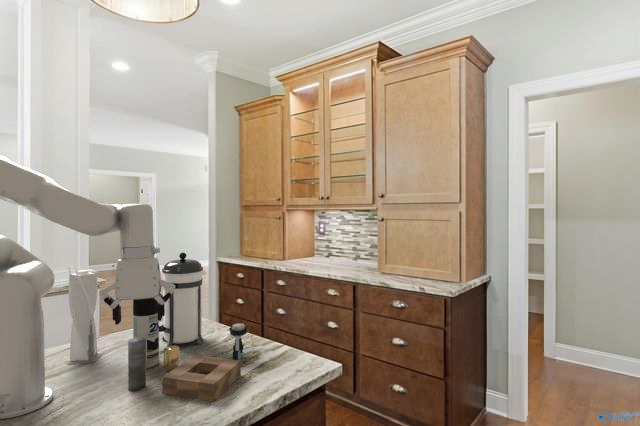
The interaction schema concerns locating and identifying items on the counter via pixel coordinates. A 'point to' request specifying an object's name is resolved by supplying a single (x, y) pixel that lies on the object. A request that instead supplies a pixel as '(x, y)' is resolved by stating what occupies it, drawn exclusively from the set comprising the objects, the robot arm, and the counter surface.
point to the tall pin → (136, 364)
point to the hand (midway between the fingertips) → (139, 321)
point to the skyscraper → (83, 316)
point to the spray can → (147, 327)
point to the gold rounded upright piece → (171, 358)
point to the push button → (238, 339)
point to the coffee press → (183, 301)
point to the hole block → (201, 377)
